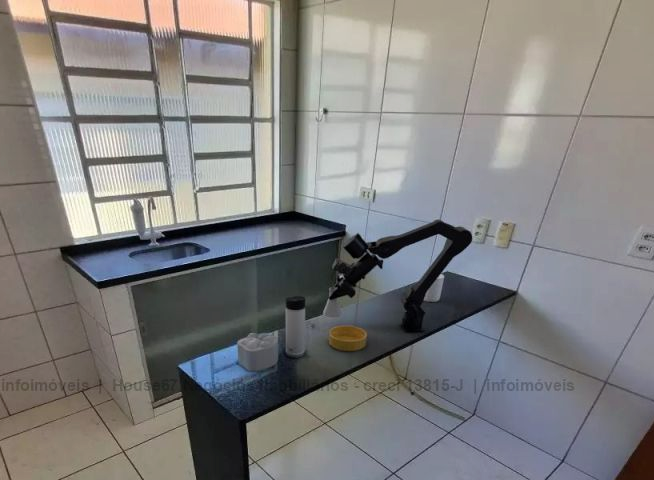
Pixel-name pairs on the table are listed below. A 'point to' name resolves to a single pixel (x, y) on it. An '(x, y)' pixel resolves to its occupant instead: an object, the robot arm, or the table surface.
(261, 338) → the lumpy-topped squat cylinder
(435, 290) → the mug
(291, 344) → the travel mug
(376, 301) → the table surface
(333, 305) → the flask
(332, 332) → the bowl
